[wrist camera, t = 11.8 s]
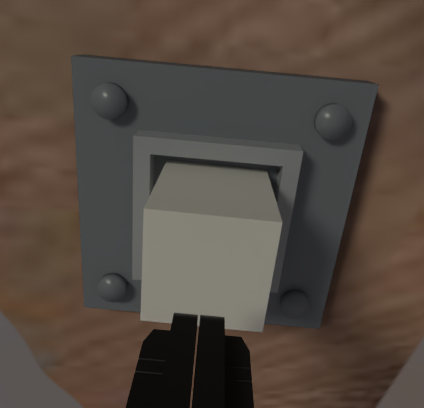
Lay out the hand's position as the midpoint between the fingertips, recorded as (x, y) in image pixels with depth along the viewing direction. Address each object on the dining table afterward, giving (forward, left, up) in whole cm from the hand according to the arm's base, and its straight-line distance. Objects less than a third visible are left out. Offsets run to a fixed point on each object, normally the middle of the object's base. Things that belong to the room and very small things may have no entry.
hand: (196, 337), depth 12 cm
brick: (0, 0, -10) cm, 10 cm away
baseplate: (0, 0, -11) cm, 11 cm away
